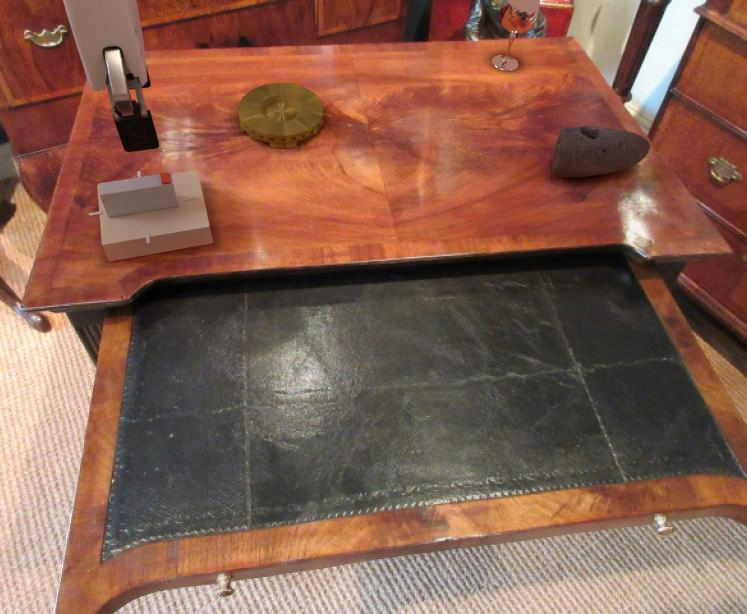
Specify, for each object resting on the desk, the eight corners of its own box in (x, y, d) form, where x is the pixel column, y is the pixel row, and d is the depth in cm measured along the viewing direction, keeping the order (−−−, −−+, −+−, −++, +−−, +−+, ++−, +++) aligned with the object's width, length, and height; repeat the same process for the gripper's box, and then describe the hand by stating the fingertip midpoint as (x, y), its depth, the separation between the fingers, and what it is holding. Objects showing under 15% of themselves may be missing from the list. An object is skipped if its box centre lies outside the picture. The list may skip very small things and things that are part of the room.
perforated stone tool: (632, 156, 88) (653, 116, 82) (646, 181, 85) (669, 141, 79) (534, 160, 86) (549, 119, 80) (546, 186, 83) (562, 145, 77)
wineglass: (513, 51, 102) (533, -22, 92) (528, 70, 99) (550, -2, 89) (482, 55, 101) (499, -18, 91) (496, 75, 97) (516, 1, 88)
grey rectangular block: (108, 217, 70) (98, 193, 67) (107, 205, 71) (97, 181, 68) (179, 206, 72) (172, 182, 69) (177, 194, 73) (170, 170, 70)
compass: (340, 118, 88) (340, 106, 87) (286, 160, 82) (285, 147, 81) (278, 85, 92) (277, 72, 90) (222, 123, 86) (220, 110, 84)
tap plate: (99, 270, 69) (91, 253, 67) (94, 197, 76) (86, 178, 73) (214, 250, 72) (210, 232, 70) (200, 181, 79) (196, 162, 76)
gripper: (32, -116, 50) (96, 70, 64) (26, -9, 40) (102, 181, 54) (127, -119, 51) (169, 63, 65) (142, -18, 42) (187, 169, 56)
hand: (138, 116), depth 60 cm, fingers open, 9 cm apart
